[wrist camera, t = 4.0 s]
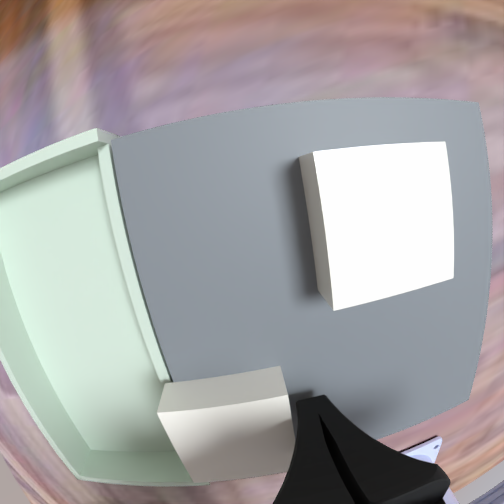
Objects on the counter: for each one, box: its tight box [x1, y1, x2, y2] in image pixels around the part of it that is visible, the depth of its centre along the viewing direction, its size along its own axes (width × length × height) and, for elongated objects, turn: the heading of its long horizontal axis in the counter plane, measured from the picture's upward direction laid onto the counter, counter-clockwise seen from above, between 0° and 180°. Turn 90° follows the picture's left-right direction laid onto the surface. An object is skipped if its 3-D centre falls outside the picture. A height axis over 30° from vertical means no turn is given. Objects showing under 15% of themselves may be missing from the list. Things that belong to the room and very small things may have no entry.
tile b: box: [299, 142, 454, 311], centre depth 10 cm, size 5×5×2 cm
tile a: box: [157, 366, 295, 483], centre depth 12 cm, size 5×5×2 cm
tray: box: [0, 128, 210, 486], centre depth 13 cm, size 18×9×3 cm, turn 10°
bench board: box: [111, 97, 492, 441], centre depth 13 cm, size 17×16×2 cm
